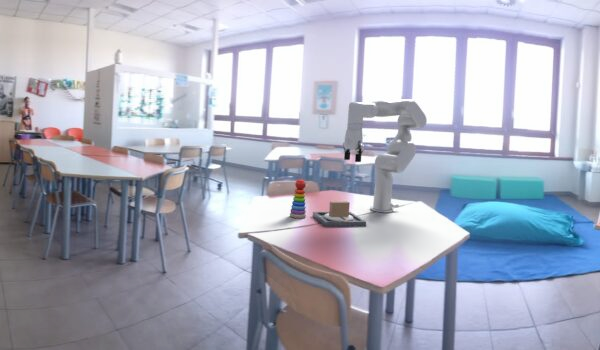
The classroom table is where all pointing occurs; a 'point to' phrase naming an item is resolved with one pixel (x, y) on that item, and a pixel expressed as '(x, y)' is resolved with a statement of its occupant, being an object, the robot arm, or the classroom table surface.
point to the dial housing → (328, 223)
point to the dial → (339, 211)
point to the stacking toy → (299, 200)
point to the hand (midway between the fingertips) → (352, 160)
